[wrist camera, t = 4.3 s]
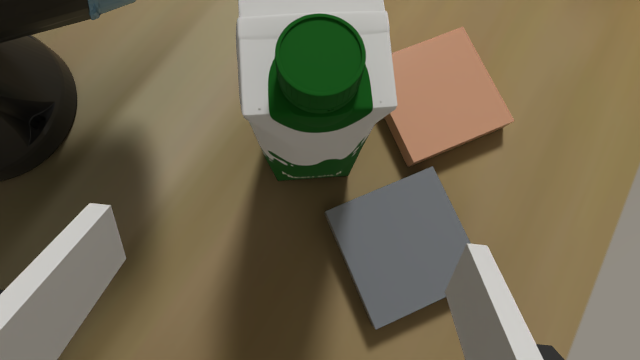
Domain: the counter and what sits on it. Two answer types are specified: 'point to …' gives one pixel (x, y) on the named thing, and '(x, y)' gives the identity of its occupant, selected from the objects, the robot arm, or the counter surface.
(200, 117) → the counter surface
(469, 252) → the robot arm
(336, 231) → the slate tile
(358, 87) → the soya milk
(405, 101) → the terracotta tile
